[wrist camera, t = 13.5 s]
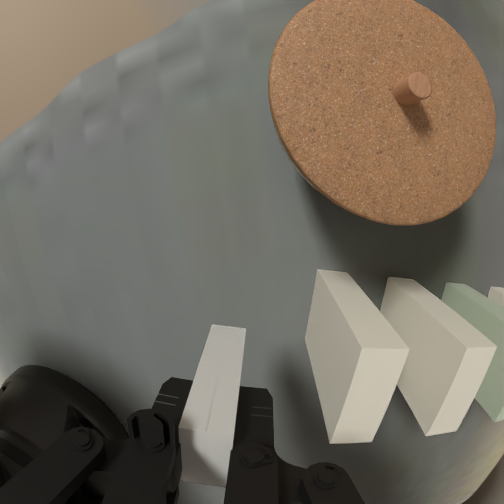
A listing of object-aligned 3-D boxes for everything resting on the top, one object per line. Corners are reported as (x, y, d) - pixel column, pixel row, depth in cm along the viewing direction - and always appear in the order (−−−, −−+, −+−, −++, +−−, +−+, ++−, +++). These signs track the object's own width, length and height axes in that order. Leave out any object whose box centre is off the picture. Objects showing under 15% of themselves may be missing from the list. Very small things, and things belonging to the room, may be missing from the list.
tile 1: (304, 338, 21) (329, 443, 12) (317, 269, 20) (362, 347, 11) (332, 340, 21) (371, 441, 12) (347, 272, 20) (409, 349, 11)
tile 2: (371, 342, 21) (425, 436, 12) (388, 276, 20) (466, 347, 11) (395, 342, 21) (456, 430, 12) (412, 279, 20) (497, 346, 11)
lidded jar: (434, 78, 17) (518, 39, 8) (407, 225, 19) (495, 261, 10) (284, 28, 17) (299, -60, 8) (248, 184, 19) (237, 191, 10)
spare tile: (427, 343, 21) (494, 422, 12) (446, 282, 20) (532, 343, 11) (447, 343, 21) (514, 416, 12) (465, 284, 20) (551, 341, 11)
